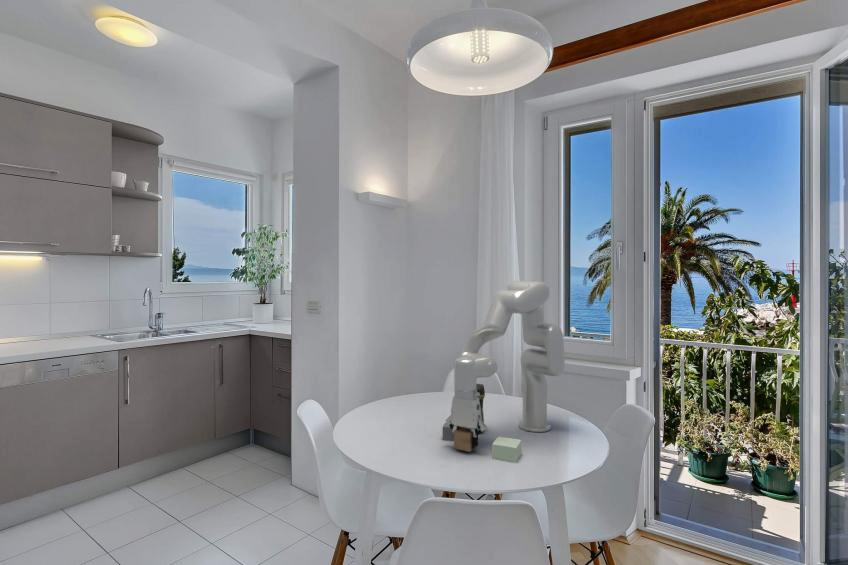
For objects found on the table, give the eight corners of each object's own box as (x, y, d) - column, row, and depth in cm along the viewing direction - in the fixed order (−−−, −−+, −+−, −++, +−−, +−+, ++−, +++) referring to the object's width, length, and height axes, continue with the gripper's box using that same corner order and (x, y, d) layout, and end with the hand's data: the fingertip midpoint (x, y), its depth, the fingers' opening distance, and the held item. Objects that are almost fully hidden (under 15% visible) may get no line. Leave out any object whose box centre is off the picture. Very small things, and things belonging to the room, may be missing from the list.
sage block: (498, 450, 155) (498, 436, 155) (521, 454, 151) (521, 440, 151) (492, 459, 147) (492, 444, 147) (516, 463, 144) (516, 448, 144)
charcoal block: (444, 435, 169) (444, 422, 169) (457, 436, 168) (458, 423, 168) (442, 440, 164) (442, 426, 164) (455, 441, 163) (456, 427, 163)
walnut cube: (462, 442, 158) (462, 425, 158) (477, 445, 155) (477, 428, 155) (454, 448, 153) (453, 430, 153) (469, 451, 150) (469, 434, 150)
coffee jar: (457, 433, 172) (458, 384, 172) (461, 426, 179) (462, 380, 179) (483, 435, 169) (483, 386, 169) (485, 428, 177) (486, 382, 177)
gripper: (492, 394, 152) (493, 446, 153) (448, 388, 162) (449, 437, 162) (483, 400, 146) (484, 454, 146) (438, 392, 155) (438, 444, 156)
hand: (465, 444), depth 154 cm, fingers closed on walnut cube, 6 cm apart
